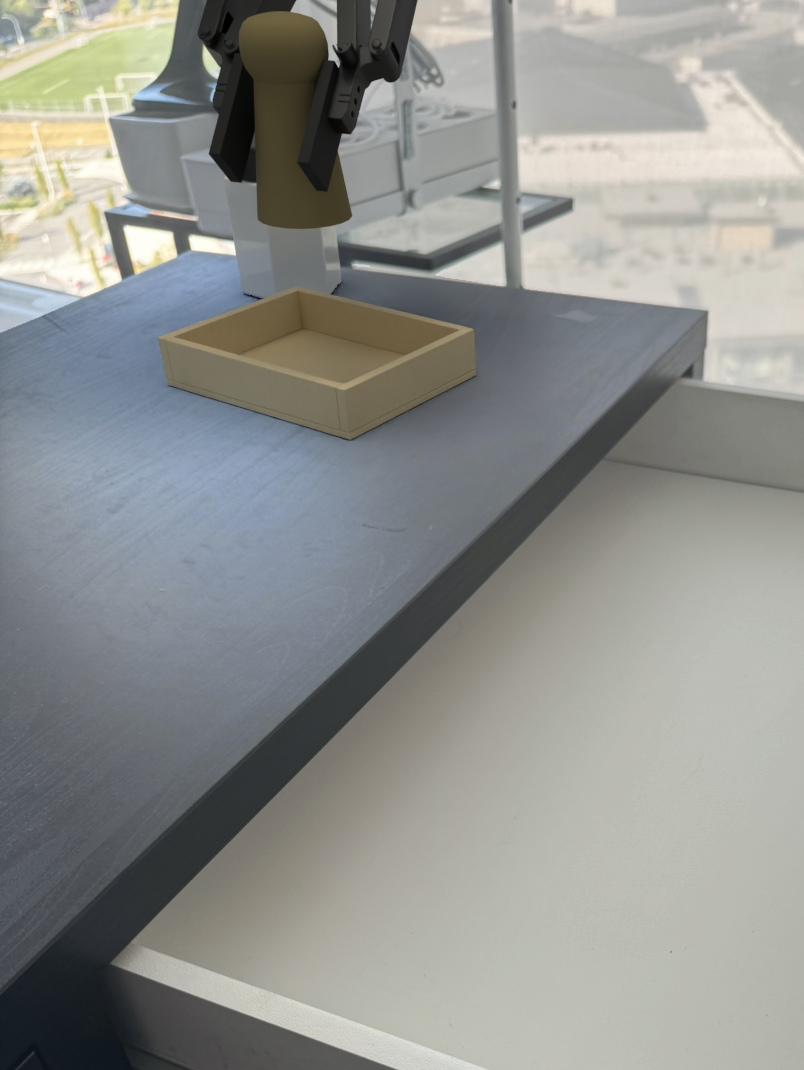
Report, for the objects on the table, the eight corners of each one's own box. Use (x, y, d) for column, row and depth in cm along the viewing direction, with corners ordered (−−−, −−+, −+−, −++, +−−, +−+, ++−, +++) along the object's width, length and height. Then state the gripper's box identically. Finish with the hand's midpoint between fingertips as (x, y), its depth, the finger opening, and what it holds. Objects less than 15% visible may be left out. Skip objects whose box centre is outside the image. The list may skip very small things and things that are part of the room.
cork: (239, 213, 75) (207, 10, 68) (320, 199, 78) (298, 3, 71) (287, 234, 72) (258, 23, 65) (370, 218, 75) (351, 15, 68)
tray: (167, 385, 86) (157, 337, 84) (302, 330, 96) (296, 285, 94) (350, 440, 79) (344, 389, 77) (476, 375, 89) (474, 328, 87)
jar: (262, 271, 108) (240, 124, 100) (349, 275, 107) (334, 128, 100) (231, 301, 101) (205, 147, 93) (324, 306, 100) (305, 151, 93)
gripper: (196, -241, 70) (100, 119, 69) (479, -236, 66) (384, 145, 65) (255, -131, 78) (169, 196, 76) (512, -121, 74) (428, 224, 72)
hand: (268, 172), depth 70 cm, fingers closed on cork, 5 cm apart
